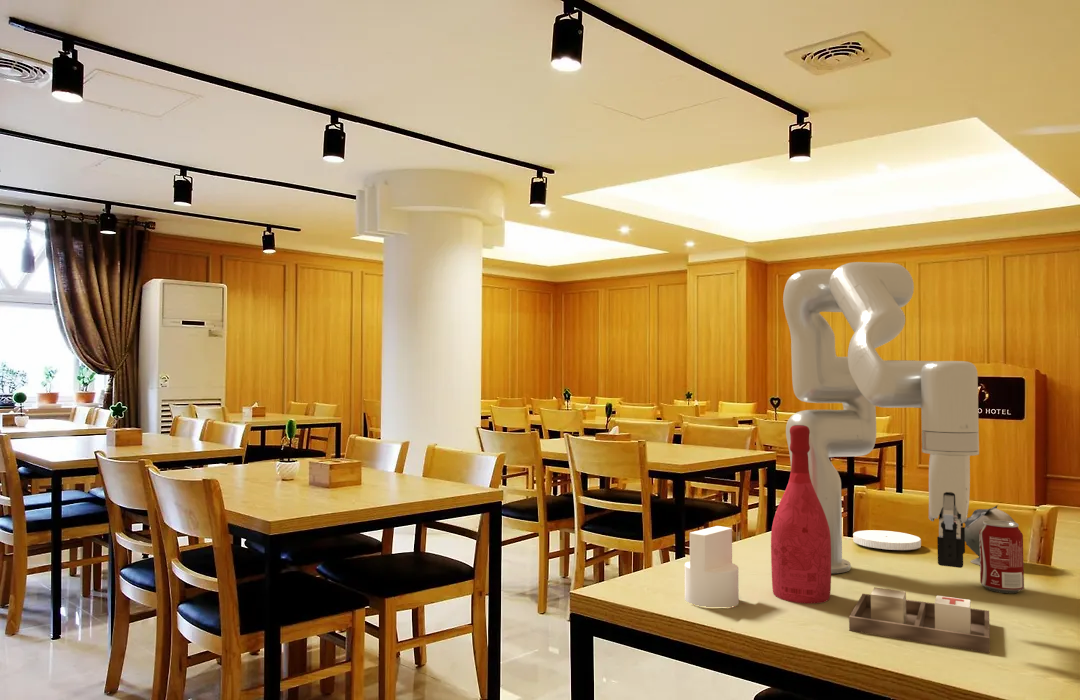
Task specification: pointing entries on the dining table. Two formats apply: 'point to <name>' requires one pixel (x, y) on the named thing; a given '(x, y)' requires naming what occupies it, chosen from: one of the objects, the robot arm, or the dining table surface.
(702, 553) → the cylinder with rectangular tab
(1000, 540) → the soda can
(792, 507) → the wine bottle
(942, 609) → the letter cube
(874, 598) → the plain cube
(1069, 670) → the dining table surface
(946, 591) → the dining table surface
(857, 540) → the plastic lid
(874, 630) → the organiser
